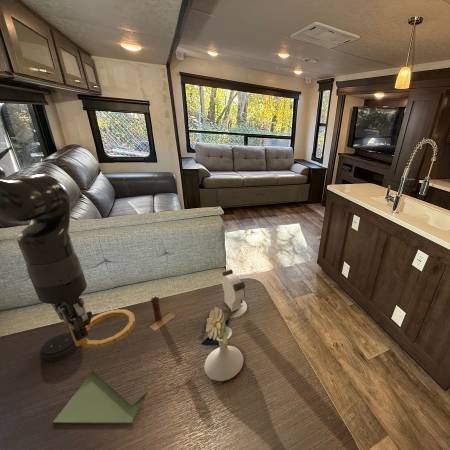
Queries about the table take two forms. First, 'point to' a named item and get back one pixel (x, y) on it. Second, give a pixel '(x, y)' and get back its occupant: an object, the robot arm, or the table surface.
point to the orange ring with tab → (110, 340)
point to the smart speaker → (58, 348)
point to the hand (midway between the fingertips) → (80, 336)
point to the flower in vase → (221, 350)
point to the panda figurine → (234, 293)
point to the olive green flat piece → (98, 404)
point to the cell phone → (211, 341)
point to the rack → (159, 315)
